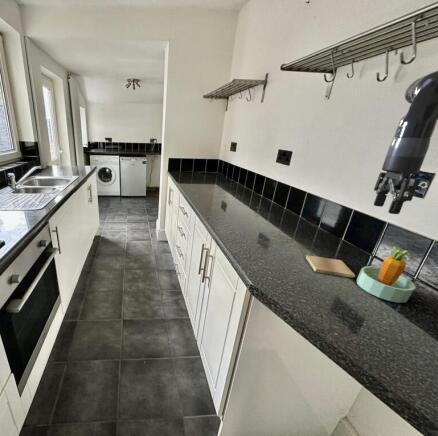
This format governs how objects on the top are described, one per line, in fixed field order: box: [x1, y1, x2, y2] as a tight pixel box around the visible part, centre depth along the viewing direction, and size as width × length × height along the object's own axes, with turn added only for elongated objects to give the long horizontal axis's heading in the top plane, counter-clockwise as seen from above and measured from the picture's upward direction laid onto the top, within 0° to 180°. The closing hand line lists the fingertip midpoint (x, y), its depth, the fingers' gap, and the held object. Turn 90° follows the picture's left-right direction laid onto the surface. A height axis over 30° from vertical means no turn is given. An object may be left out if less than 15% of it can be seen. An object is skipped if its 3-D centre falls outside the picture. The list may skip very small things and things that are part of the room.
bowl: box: [356, 265, 417, 304], centre depth 74 cm, size 12×12×5 cm
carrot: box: [378, 246, 410, 286], centre depth 72 cm, size 5×5×15 cm
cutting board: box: [305, 254, 356, 279], centre depth 86 cm, size 12×10×1 cm
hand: (385, 209), depth 70 cm, fingers open, 8 cm apart
